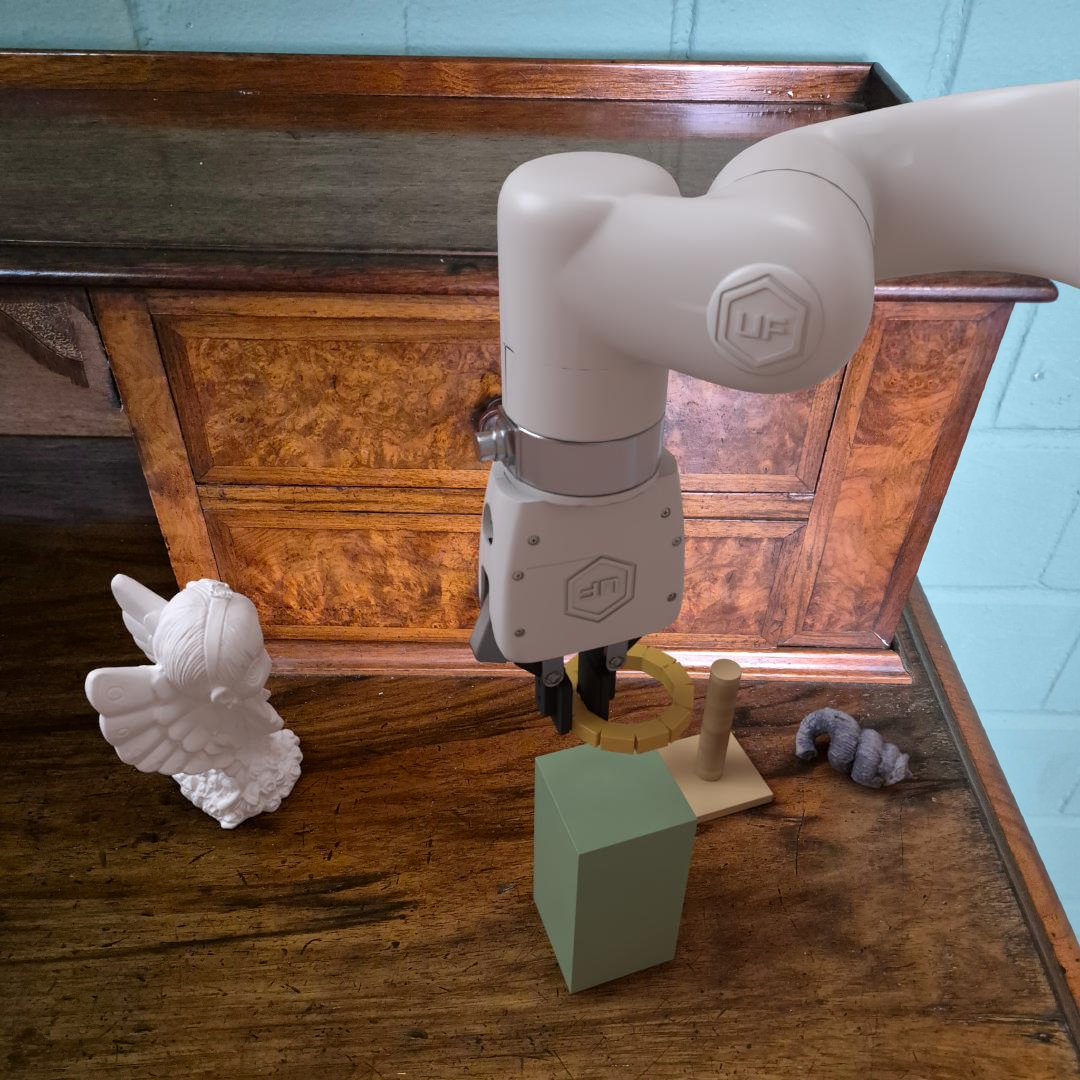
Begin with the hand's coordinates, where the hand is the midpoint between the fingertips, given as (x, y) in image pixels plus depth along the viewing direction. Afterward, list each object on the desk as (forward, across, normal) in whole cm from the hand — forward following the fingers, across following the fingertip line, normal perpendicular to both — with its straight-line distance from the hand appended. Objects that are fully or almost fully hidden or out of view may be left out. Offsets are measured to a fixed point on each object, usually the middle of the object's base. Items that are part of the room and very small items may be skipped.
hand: (574, 711), depth 55 cm
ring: (0, +3, 0) cm, 3 cm away
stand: (+24, +3, 0) cm, 24 cm away
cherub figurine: (+24, -22, +23) cm, 40 cm away
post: (+24, +17, +10) cm, 31 cm away
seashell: (+25, +29, +7) cm, 39 cm away
